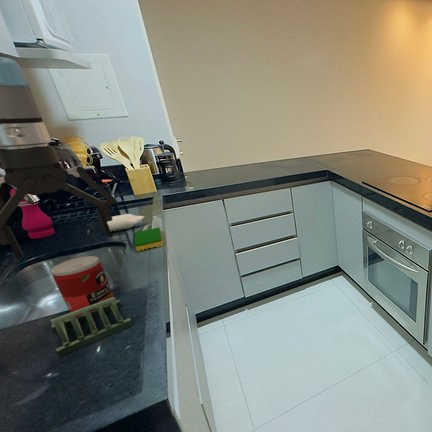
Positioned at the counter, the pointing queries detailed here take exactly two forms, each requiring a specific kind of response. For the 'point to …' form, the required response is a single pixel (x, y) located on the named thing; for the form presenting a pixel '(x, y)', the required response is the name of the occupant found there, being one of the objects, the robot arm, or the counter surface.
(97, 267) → the canned food
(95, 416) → the counter surface
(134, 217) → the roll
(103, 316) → the drying rack
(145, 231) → the dish sponge
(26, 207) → the pepper mill
